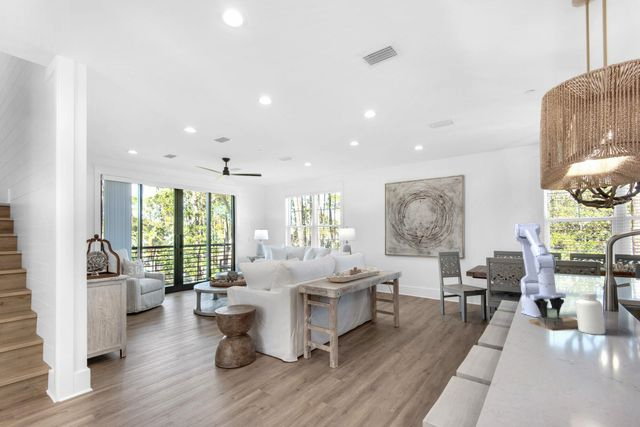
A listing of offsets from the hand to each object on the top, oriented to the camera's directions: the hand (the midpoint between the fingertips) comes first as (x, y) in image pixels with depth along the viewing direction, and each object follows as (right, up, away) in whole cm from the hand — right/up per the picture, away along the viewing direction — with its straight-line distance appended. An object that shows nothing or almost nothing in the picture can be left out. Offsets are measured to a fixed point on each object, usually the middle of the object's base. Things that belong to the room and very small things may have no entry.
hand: (550, 316), depth 130 cm
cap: (0, -1, 0) cm, 1 cm away
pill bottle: (+9, -3, -9) cm, 13 cm away
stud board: (+5, -4, +1) cm, 6 cm away
